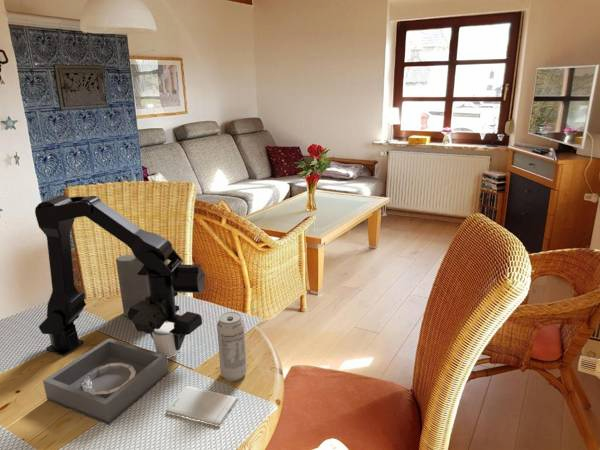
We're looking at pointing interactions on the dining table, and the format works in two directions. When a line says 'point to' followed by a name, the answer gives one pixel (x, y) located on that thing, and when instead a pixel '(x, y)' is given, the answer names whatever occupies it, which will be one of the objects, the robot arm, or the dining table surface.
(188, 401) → the grey flat slab
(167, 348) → the white short cylinder
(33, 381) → the dining table surface
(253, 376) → the dining table surface
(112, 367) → the collar
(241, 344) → the energy drink can
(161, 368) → the walled box
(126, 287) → the flask
